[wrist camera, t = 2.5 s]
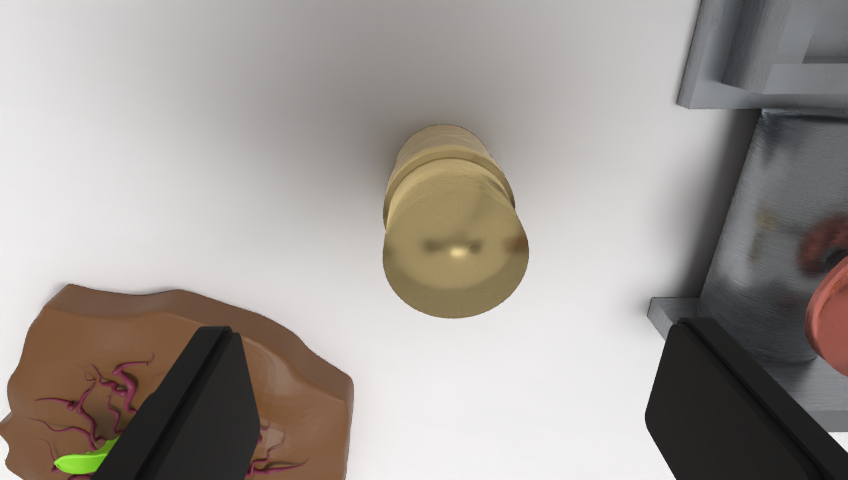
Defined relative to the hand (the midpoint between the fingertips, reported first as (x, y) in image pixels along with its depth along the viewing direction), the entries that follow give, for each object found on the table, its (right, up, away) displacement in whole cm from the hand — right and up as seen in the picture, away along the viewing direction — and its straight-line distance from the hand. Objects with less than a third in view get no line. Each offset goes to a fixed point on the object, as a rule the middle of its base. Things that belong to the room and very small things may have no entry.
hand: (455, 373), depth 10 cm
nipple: (0, +6, +11) cm, 12 cm away
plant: (-15, -8, +18) cm, 25 cm away
